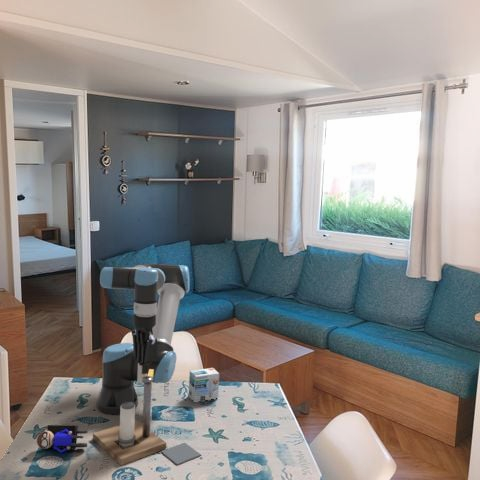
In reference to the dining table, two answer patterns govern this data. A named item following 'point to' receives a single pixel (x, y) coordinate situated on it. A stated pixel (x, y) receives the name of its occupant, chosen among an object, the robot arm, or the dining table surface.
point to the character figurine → (61, 437)
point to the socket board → (123, 456)
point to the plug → (127, 425)
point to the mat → (180, 453)
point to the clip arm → (151, 374)
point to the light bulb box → (203, 384)
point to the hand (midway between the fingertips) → (142, 381)
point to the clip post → (147, 405)
